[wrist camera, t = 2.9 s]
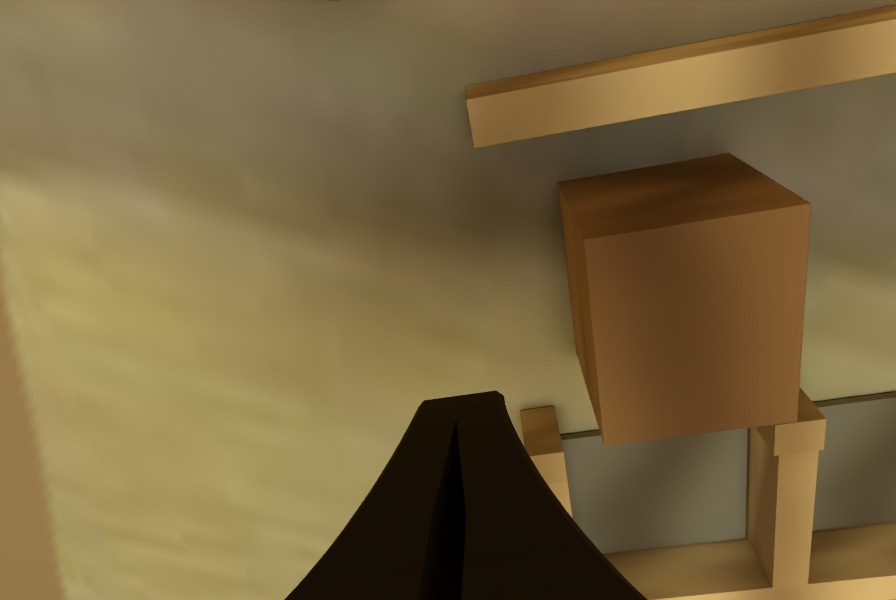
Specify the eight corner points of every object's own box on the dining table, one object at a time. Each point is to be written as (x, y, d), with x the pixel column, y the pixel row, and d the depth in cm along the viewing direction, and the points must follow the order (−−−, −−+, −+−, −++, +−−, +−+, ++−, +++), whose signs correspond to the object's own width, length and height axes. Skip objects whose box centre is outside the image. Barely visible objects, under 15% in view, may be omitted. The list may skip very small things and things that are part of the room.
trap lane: (1191, -52, 16) (1351, -62, 13) (1030, 525, 24) (1106, 597, 21) (466, 86, 18) (466, 104, 15) (547, 576, 26) (557, 649, 23)
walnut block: (728, 152, 19) (810, 203, 14) (727, 330, 21) (796, 421, 17) (557, 181, 19) (583, 239, 15) (576, 351, 22) (604, 445, 17)
